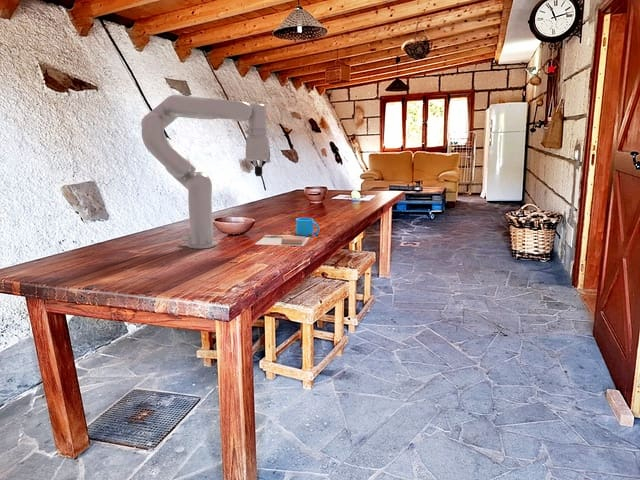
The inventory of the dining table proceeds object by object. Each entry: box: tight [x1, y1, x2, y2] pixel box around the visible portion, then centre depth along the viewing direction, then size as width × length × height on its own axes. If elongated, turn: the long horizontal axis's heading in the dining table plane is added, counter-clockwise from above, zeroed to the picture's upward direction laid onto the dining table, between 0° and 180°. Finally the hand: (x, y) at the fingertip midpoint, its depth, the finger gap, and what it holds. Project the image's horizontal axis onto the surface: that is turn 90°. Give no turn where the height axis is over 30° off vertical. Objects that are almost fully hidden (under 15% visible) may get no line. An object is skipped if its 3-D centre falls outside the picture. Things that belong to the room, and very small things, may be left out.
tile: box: [281, 235, 306, 244], centre depth 203 cm, size 2×7×9 cm
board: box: [255, 236, 311, 247], centre depth 207 cm, size 21×18×1 cm
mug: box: [295, 217, 321, 236], centre depth 221 cm, size 12×8×8 cm
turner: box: [263, 234, 298, 238], centre depth 214 cm, size 16×5×1 cm, turn 82°
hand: (258, 176), depth 207 cm, fingers closed
